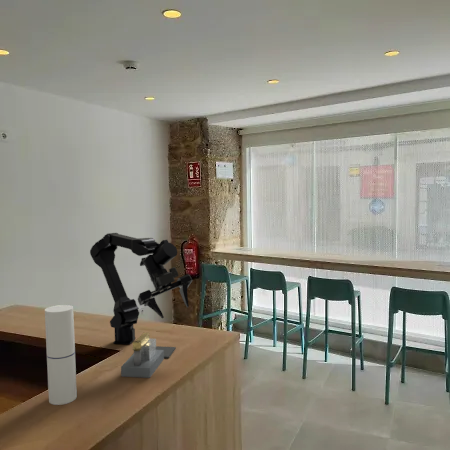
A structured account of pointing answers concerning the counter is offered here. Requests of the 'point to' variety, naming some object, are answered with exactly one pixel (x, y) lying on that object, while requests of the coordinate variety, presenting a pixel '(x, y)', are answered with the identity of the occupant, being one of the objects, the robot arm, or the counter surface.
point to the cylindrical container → (60, 354)
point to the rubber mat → (166, 350)
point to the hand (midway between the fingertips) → (175, 312)
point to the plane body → (141, 365)
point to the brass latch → (140, 341)
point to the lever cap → (148, 349)
